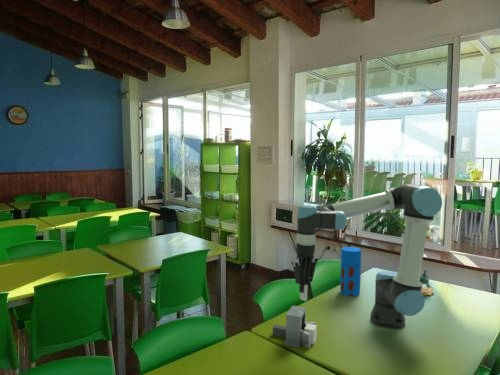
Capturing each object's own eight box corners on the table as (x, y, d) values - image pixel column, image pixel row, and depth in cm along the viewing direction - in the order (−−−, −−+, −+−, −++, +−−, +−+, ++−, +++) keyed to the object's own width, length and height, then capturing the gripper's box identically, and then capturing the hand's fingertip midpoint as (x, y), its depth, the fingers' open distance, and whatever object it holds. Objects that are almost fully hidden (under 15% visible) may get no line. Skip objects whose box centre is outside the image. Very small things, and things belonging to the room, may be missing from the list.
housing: (316, 332, 161) (316, 306, 160) (309, 349, 147) (309, 321, 146) (293, 328, 164) (293, 303, 163) (284, 345, 151) (284, 317, 149)
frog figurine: (442, 292, 210) (442, 267, 207) (422, 302, 201) (422, 276, 198) (426, 287, 218) (426, 263, 215) (406, 296, 209) (406, 271, 206)
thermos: (360, 297, 201) (362, 252, 199) (340, 295, 203) (341, 251, 201) (358, 290, 212) (360, 247, 210) (339, 288, 214) (340, 246, 212)
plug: (316, 338, 156) (316, 325, 155) (313, 344, 151) (314, 330, 151) (275, 331, 163) (275, 317, 162) (271, 336, 158) (272, 322, 157)
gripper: (310, 239, 158) (308, 293, 160) (287, 243, 150) (285, 299, 152) (323, 243, 152) (321, 299, 154) (300, 247, 144) (298, 306, 147)
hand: (303, 299), depth 153 cm, fingers closed
